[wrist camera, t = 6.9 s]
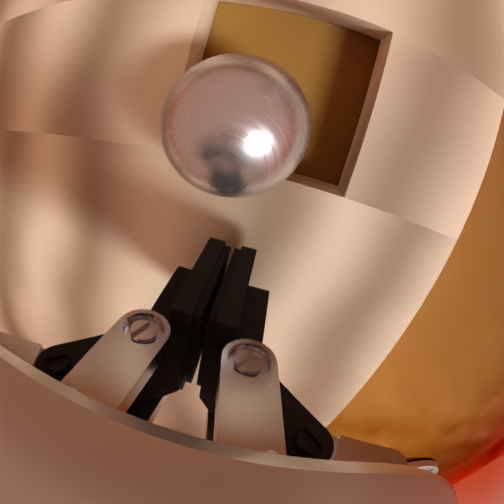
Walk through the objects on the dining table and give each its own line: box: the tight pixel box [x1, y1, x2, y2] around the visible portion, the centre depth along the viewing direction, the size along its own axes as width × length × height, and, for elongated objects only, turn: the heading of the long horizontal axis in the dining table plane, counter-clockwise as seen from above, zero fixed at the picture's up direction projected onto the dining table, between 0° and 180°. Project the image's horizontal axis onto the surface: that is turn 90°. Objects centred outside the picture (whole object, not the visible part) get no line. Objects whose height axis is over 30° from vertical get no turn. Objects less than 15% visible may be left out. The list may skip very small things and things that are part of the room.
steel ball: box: [160, 53, 311, 198], centre depth 7 cm, size 4×4×4 cm
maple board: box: [0, 0, 504, 439], centre depth 12 cm, size 30×32×2 cm
